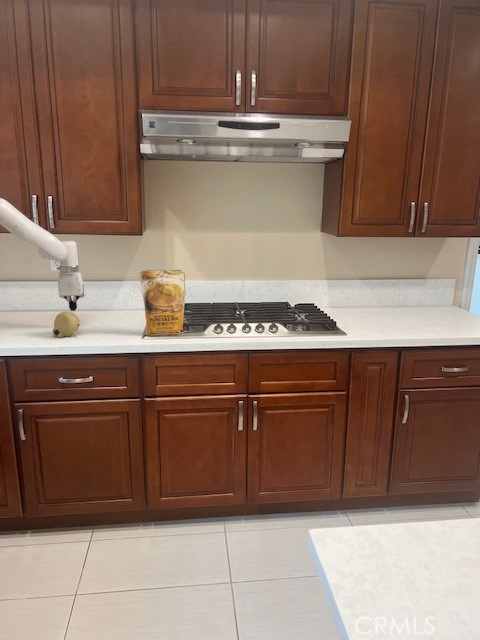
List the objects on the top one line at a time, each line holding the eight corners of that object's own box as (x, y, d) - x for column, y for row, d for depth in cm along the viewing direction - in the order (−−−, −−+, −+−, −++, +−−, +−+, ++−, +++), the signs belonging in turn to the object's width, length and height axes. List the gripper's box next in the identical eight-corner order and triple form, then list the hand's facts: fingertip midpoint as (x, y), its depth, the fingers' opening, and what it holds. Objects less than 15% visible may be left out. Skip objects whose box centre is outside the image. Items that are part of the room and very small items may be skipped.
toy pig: (67, 340, 204) (46, 325, 200) (85, 319, 204) (65, 304, 200) (66, 346, 195) (45, 331, 191) (85, 324, 195) (64, 309, 191)
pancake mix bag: (142, 332, 205) (139, 269, 198) (185, 330, 209) (184, 268, 201) (142, 337, 199) (139, 272, 191) (187, 335, 202) (186, 271, 195)
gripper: (49, 271, 198) (53, 312, 203) (85, 270, 200) (88, 312, 205) (54, 268, 206) (58, 308, 211) (89, 268, 207) (92, 307, 212)
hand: (73, 310), depth 208 cm, fingers closed
